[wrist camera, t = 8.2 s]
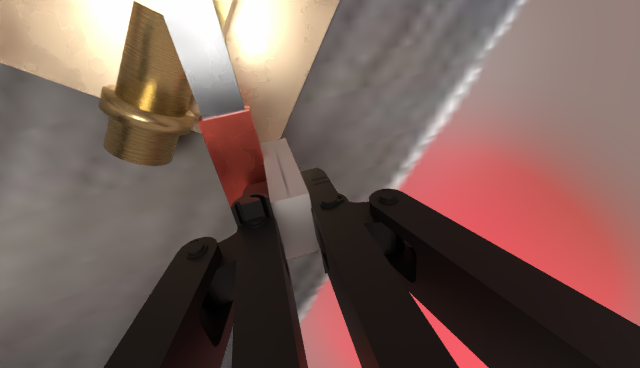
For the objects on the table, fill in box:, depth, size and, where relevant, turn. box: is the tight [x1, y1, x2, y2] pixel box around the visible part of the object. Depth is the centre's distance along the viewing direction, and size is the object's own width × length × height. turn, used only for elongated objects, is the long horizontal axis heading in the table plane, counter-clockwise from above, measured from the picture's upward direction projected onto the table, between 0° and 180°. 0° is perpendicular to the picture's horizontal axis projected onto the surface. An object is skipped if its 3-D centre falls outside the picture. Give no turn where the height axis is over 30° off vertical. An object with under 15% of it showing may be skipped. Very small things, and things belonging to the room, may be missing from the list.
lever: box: [157, 0, 267, 207], centre depth 12 cm, size 17×3×2 cm, turn 9°
